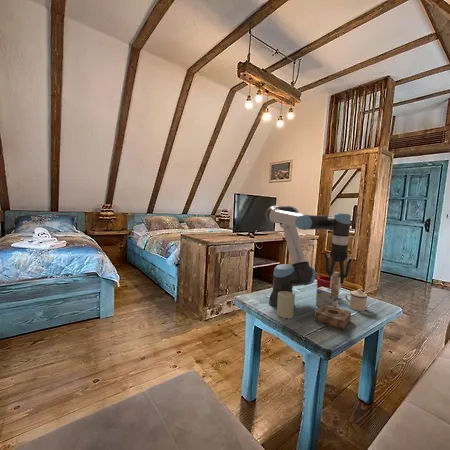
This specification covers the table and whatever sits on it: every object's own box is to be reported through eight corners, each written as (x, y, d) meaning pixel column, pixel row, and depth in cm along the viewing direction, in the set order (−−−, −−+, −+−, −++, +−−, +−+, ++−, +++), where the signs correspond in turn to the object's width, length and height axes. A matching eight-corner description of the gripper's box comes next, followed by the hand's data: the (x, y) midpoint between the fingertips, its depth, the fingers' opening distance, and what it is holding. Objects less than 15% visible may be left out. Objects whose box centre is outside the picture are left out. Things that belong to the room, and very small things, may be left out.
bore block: (314, 320, 129) (315, 311, 128) (323, 312, 140) (323, 303, 139) (343, 330, 120) (344, 321, 120) (350, 320, 131) (350, 311, 130)
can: (282, 309, 142) (284, 288, 140) (296, 315, 135) (298, 294, 134) (272, 313, 136) (274, 292, 134) (287, 319, 129) (288, 297, 128)
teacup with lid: (368, 309, 147) (370, 290, 146) (362, 313, 141) (364, 293, 140) (347, 302, 156) (349, 284, 155) (341, 305, 150) (343, 287, 149)
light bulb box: (337, 308, 145) (339, 291, 144) (332, 311, 141) (334, 293, 140) (320, 302, 153) (322, 285, 152) (315, 305, 149) (316, 288, 148)
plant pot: (328, 300, 157) (329, 282, 156) (311, 293, 168) (313, 276, 167) (340, 297, 163) (342, 280, 162) (324, 290, 175) (325, 274, 173)
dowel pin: (329, 295, 127) (332, 272, 126) (331, 293, 130) (334, 271, 129) (337, 297, 125) (339, 274, 124) (339, 295, 128) (341, 273, 126)
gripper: (321, 242, 127) (316, 285, 129) (355, 247, 116) (350, 294, 119) (326, 240, 132) (322, 282, 135) (359, 245, 122) (354, 290, 125)
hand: (335, 288), depth 127 cm, fingers closed on dowel pin, 3 cm apart
